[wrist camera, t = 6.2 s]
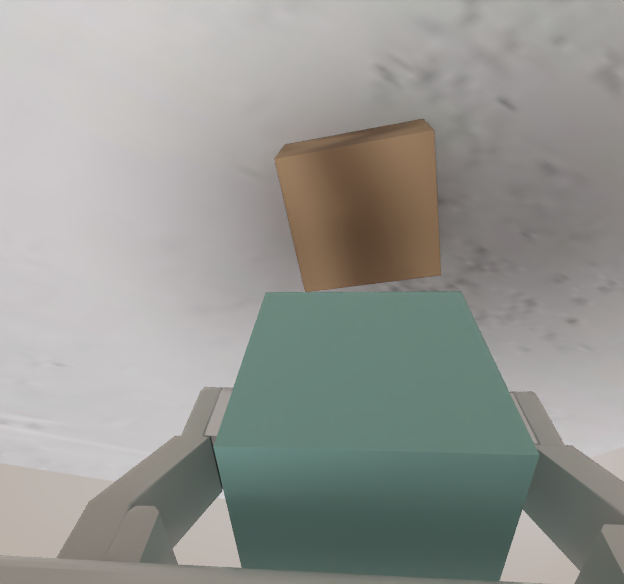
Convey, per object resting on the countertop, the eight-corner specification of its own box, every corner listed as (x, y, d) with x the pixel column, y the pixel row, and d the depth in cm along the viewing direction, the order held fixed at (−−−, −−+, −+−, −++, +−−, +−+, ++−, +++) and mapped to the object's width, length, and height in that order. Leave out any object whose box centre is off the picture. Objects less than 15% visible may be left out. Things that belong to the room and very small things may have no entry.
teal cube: (461, 291, 11) (539, 455, 6) (440, 431, 13) (487, 619, 9) (266, 292, 11) (213, 445, 7) (281, 427, 14) (250, 604, 9)
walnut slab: (422, 118, 24) (434, 130, 20) (430, 246, 28) (440, 275, 24) (285, 143, 25) (274, 159, 22) (310, 263, 29) (305, 292, 25)
